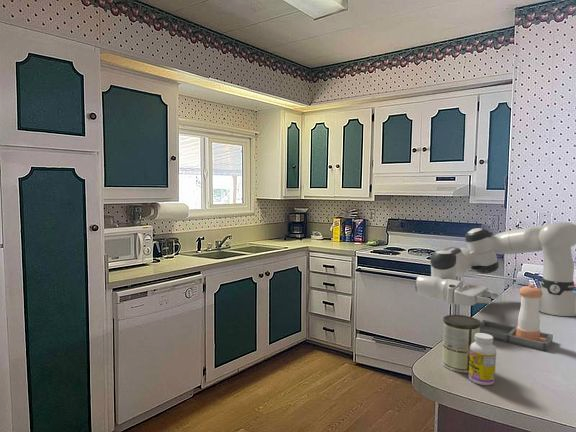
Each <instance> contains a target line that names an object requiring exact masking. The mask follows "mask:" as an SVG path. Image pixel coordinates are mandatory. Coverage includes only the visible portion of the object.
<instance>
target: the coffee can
mask: <svg viewBox="0 0 576 432" xmlns="http://www.w3.org/2000/svg"><path fill="white" fill-rule="evenodd" d="M481 322H482V321H480V320H479V319H478V318H475V317H473V316H468V315H462V314H449V315H445V316H443V330H442V352H441V353H442V355H441V356H442V358H441V364H442V366H443V367H444V368H446V369H448V370H451V371H452V372H453V371H454V372H458V373H468V374H469V358H470V345H471V344H472V343H473V342H475V339H474V337H475V334H476V333H480V324H481Z"/></svg>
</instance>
